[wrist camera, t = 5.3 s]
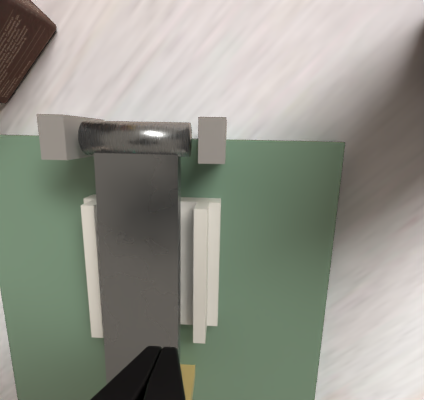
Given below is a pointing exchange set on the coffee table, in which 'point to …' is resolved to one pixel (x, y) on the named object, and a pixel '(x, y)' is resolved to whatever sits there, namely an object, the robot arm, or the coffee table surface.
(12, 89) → the box
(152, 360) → the robot arm
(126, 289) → the grey hinged lever
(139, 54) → the coffee table surface
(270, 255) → the board
